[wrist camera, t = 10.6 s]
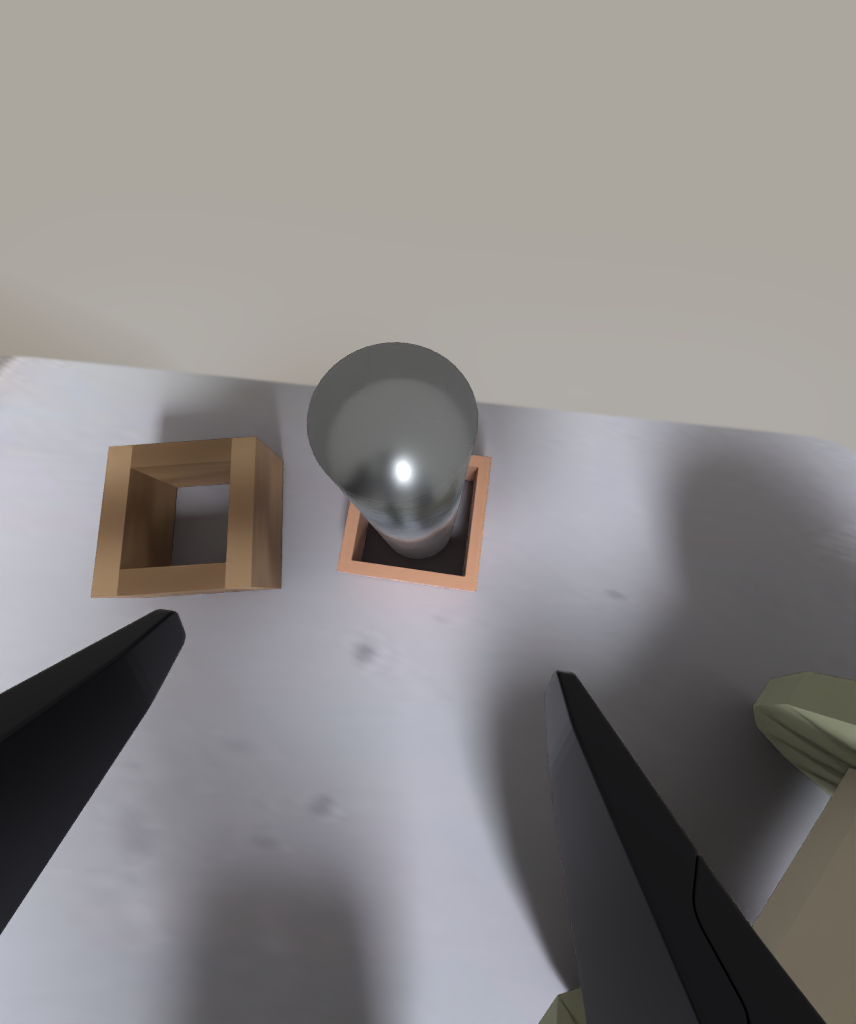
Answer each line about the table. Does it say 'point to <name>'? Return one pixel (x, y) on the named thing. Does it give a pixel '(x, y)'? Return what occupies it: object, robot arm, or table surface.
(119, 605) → the table surface
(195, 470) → the wooden square frame
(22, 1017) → the table surface
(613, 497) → the table surface
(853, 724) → the spool
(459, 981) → the table surface
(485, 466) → the socket block
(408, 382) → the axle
